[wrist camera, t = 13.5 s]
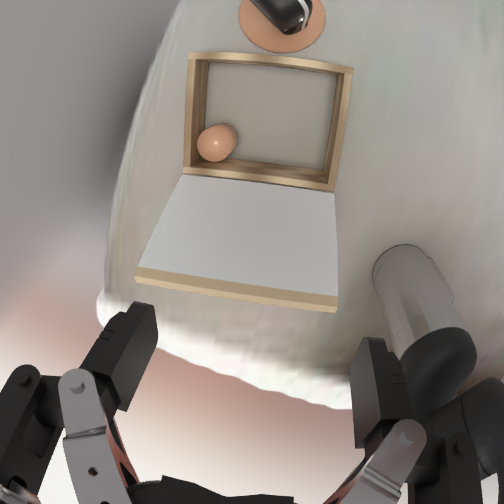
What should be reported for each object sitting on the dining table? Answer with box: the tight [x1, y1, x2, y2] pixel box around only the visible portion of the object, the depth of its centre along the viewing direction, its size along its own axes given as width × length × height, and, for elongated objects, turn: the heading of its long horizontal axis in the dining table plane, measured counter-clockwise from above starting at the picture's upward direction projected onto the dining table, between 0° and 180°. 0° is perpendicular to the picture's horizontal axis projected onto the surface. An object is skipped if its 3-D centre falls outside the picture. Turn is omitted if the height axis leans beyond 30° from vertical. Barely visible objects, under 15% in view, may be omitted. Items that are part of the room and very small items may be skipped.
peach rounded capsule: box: [197, 123, 238, 162], centre depth 35 cm, size 4×4×4 cm
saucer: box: [239, 0, 325, 53], centre depth 27 cm, size 10×10×1 cm
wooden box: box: [183, 52, 353, 192], centre depth 32 cm, size 17×14×6 cm
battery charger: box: [250, 0, 313, 35], centre depth 22 cm, size 7×4×11 cm, turn 38°
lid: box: [134, 175, 338, 313], centre depth 29 cm, size 17×14×1 cm
